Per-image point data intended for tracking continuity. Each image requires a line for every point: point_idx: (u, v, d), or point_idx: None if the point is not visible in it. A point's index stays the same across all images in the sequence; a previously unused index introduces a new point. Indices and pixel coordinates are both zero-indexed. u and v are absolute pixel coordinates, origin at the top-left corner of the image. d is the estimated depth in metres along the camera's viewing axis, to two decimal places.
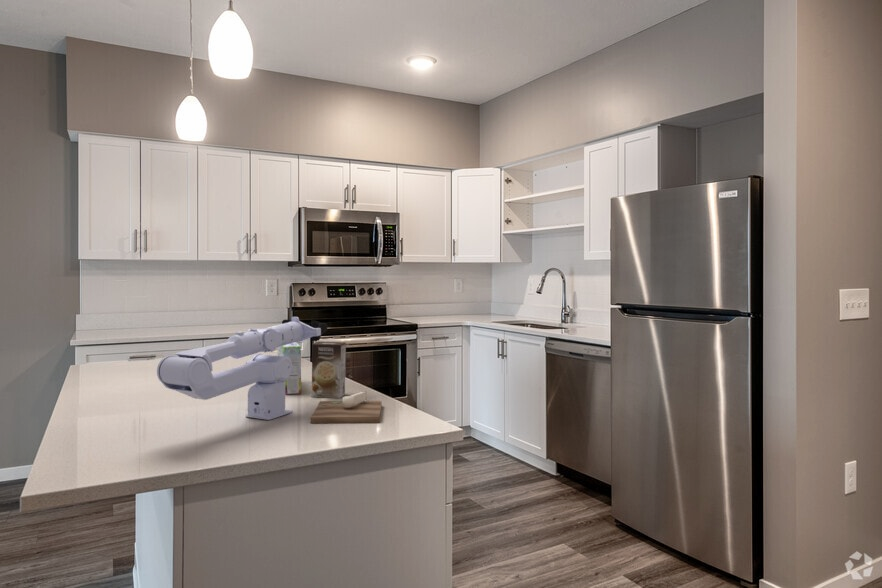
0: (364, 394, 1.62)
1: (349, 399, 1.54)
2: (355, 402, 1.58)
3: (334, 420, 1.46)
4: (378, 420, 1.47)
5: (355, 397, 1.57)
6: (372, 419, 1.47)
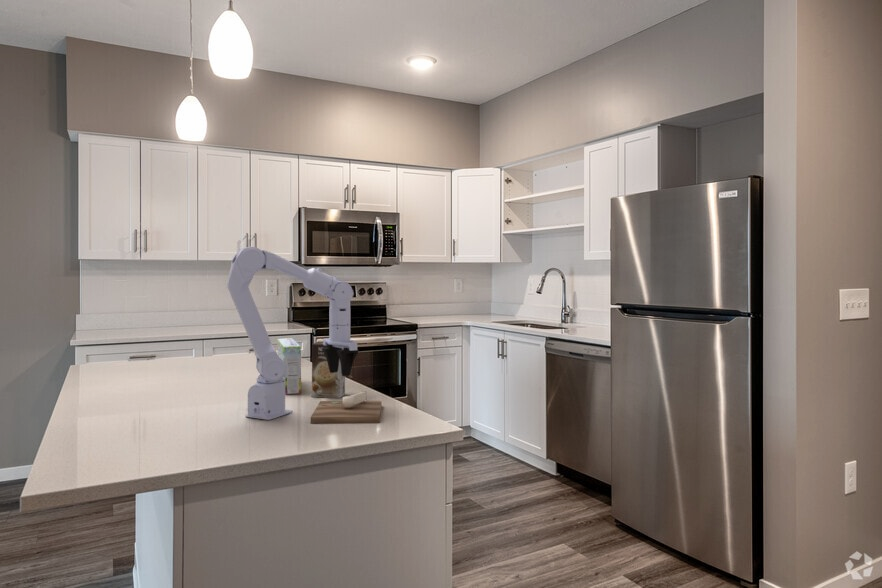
0: (364, 394, 1.62)
1: (349, 399, 1.54)
2: (355, 402, 1.58)
3: (334, 420, 1.46)
4: (378, 420, 1.47)
5: (355, 397, 1.57)
6: (372, 419, 1.47)
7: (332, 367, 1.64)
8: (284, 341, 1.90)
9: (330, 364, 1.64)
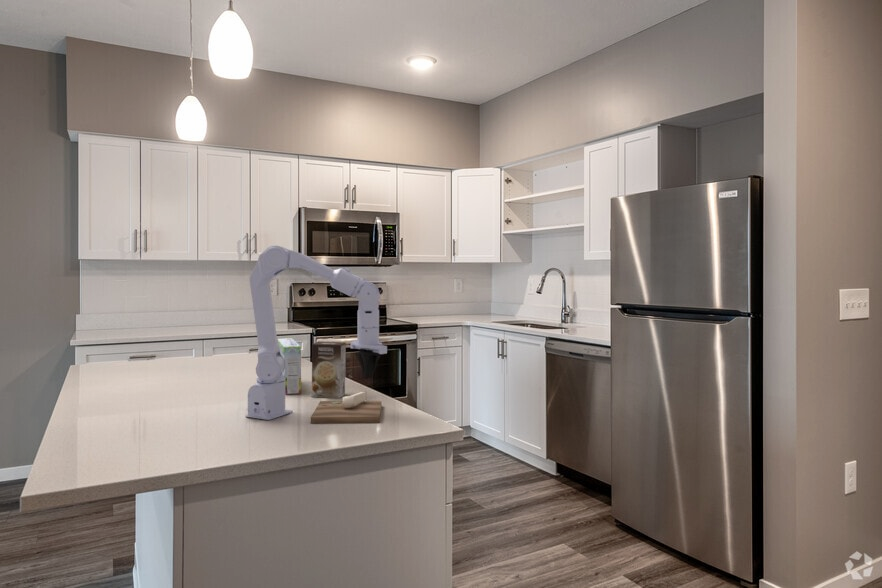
0: (364, 394, 1.62)
1: (349, 399, 1.54)
2: (355, 402, 1.58)
3: (334, 420, 1.46)
4: (378, 420, 1.47)
5: (355, 397, 1.57)
6: (372, 419, 1.47)
7: None
8: (284, 341, 1.90)
9: None
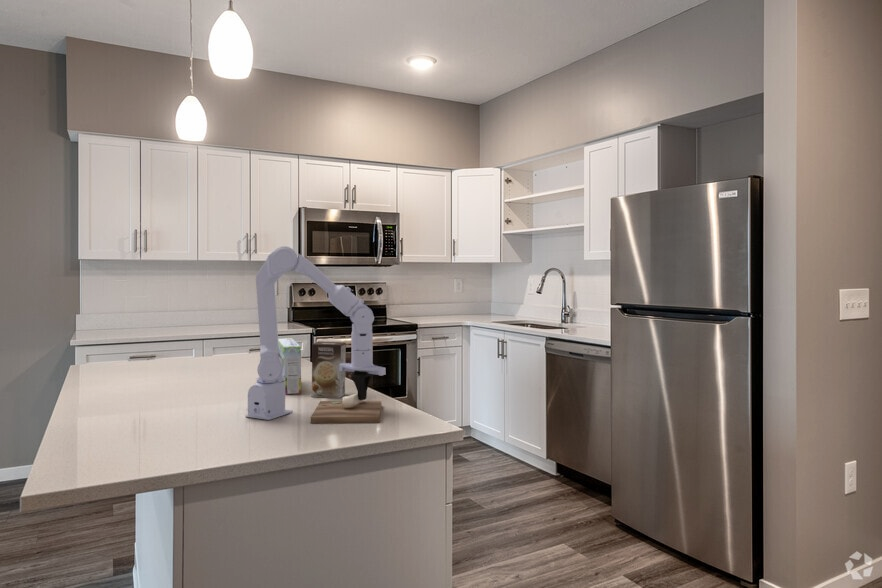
0: None
1: (349, 399, 1.54)
2: (355, 402, 1.58)
3: (334, 420, 1.46)
4: (378, 420, 1.47)
5: (355, 397, 1.58)
6: (372, 419, 1.47)
7: (362, 394, 1.59)
8: (284, 341, 1.90)
9: (360, 391, 1.59)
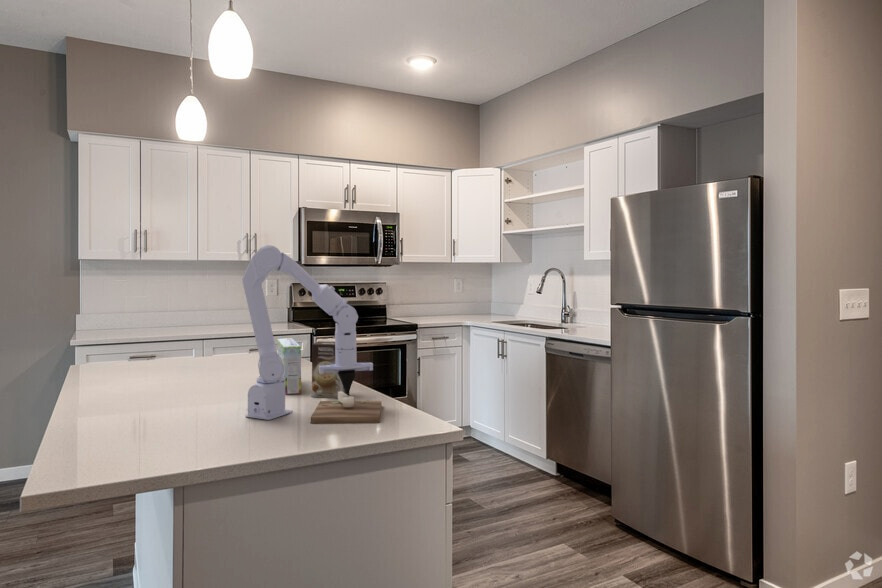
0: None
1: (353, 398, 1.55)
2: None
3: (334, 420, 1.46)
4: (378, 420, 1.47)
5: None
6: (372, 419, 1.47)
7: (348, 392, 1.60)
8: (284, 341, 1.90)
9: None
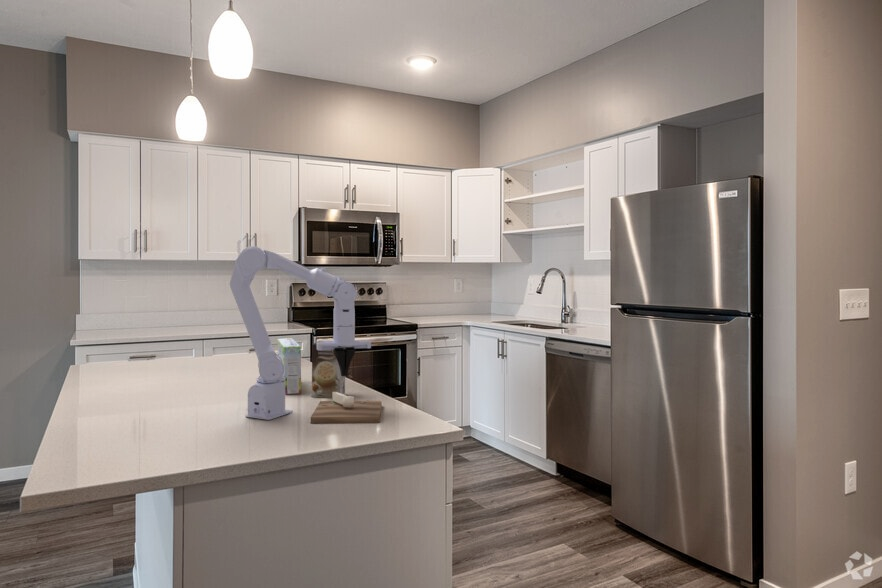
0: None
1: (353, 398, 1.55)
2: None
3: (334, 420, 1.46)
4: (378, 420, 1.47)
5: None
6: (372, 419, 1.47)
7: None
8: (284, 341, 1.90)
9: None
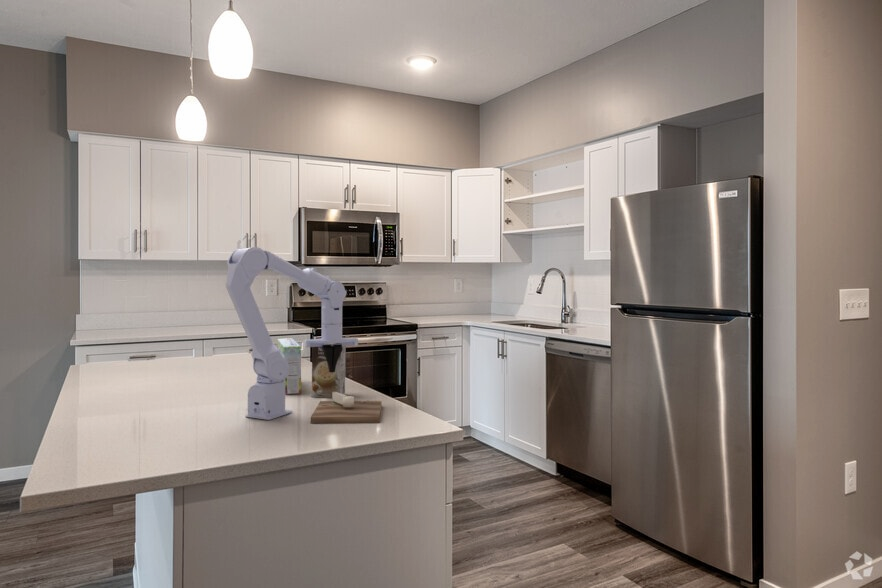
0: None
1: (353, 398, 1.55)
2: None
3: (334, 420, 1.46)
4: (378, 420, 1.47)
5: None
6: (372, 419, 1.47)
7: None
8: (284, 341, 1.90)
9: (332, 364, 1.64)
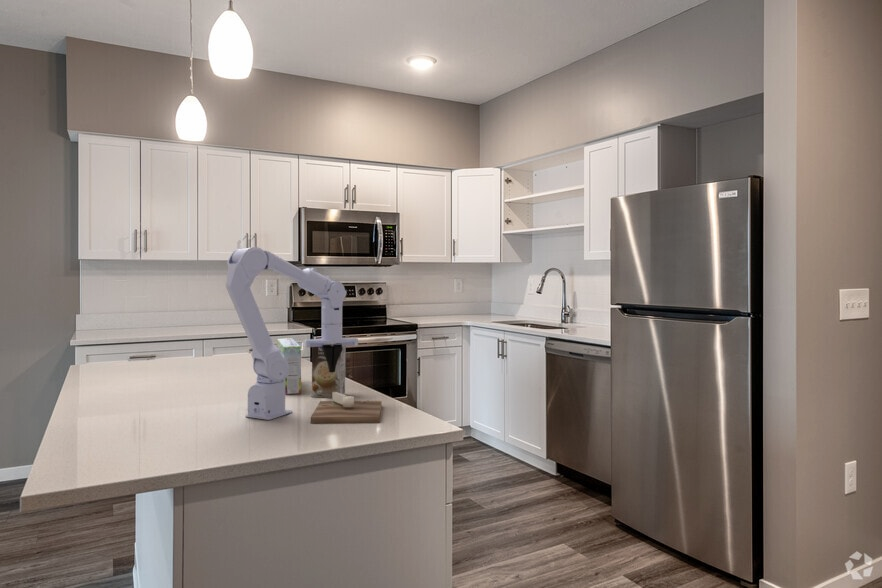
0: None
1: (353, 398, 1.55)
2: None
3: (334, 420, 1.46)
4: (378, 420, 1.47)
5: None
6: (372, 419, 1.47)
7: None
8: (284, 341, 1.90)
9: (332, 364, 1.64)
